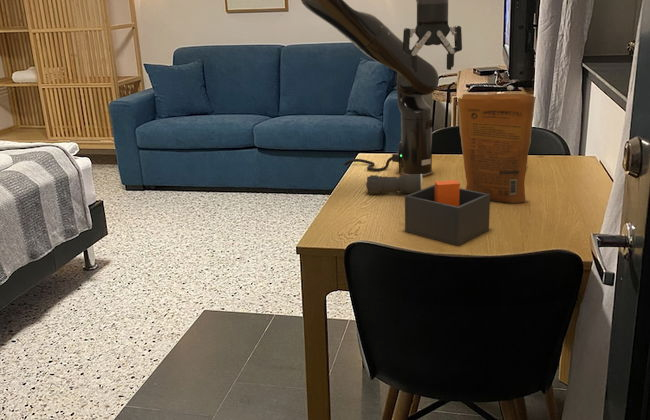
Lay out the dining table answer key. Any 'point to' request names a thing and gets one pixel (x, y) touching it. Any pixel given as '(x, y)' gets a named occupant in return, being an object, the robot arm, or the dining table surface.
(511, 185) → the pancake mix bag
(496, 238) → the dining table surface
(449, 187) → the block
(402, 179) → the flashlight
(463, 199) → the trash bin
